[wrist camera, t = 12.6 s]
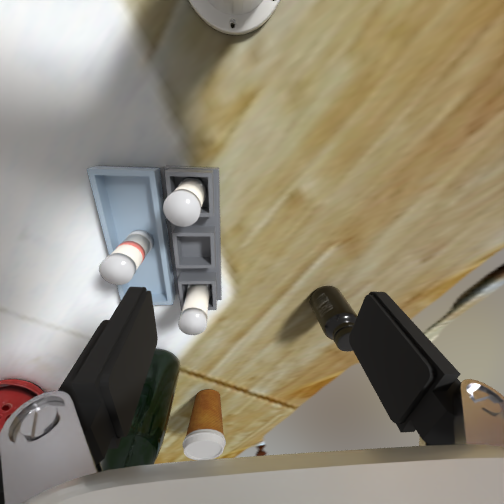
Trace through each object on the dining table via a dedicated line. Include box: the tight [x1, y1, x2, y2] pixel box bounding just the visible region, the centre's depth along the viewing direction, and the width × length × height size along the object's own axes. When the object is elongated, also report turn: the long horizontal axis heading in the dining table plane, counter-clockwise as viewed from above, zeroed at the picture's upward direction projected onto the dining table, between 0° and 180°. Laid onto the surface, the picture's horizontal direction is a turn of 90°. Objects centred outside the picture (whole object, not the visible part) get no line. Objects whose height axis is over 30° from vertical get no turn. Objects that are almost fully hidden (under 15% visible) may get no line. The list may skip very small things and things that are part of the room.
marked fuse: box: [99, 230, 154, 285], centre depth 36 cm, size 4×4×10 cm
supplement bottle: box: [310, 286, 357, 351], centre depth 45 cm, size 7×7×12 cm
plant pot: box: [0, 379, 44, 432], centre depth 51 cm, size 13×13×12 cm
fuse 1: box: [163, 177, 207, 227], centre depth 32 cm, size 4×4×10 cm
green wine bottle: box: [100, 349, 180, 471], centre depth 41 cm, size 10×10×33 cm
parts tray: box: [87, 166, 176, 305], centre depth 40 cm, size 24×9×3 cm, turn 178°
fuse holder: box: [164, 166, 221, 311], centre depth 40 cm, size 25×8×4 cm, turn 178°
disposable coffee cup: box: [183, 389, 226, 460], centre depth 57 cm, size 10×10×12 cm
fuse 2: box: [178, 284, 211, 335], centre depth 40 cm, size 4×4×10 cm
